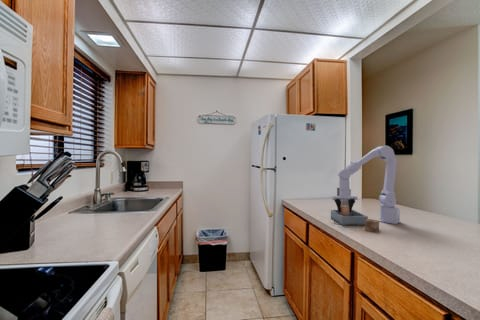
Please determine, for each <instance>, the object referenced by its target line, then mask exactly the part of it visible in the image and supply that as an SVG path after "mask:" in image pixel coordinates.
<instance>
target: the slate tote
mask: <svg viewBox="0 0 480 320" xmlns="http://www.w3.org/2000/svg"><path fill="white" fill-rule="evenodd" d="M330 218H331V219H332V220H333V221H335V222H336V223H338V224H339V225H340V226H343V227H346V226H347V227H349V226H351V227H352V226H353V227H354V226H355V227H356V226H360V227H362V226H363V227H365V220H368V219H369V217H368V216H367V215H365V214H363V213H361V212H360V211H357V210H354V209H352V210H351V212H349V216H342V215H340V212H339V211H338V210H337V209H330Z"/></svg>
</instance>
